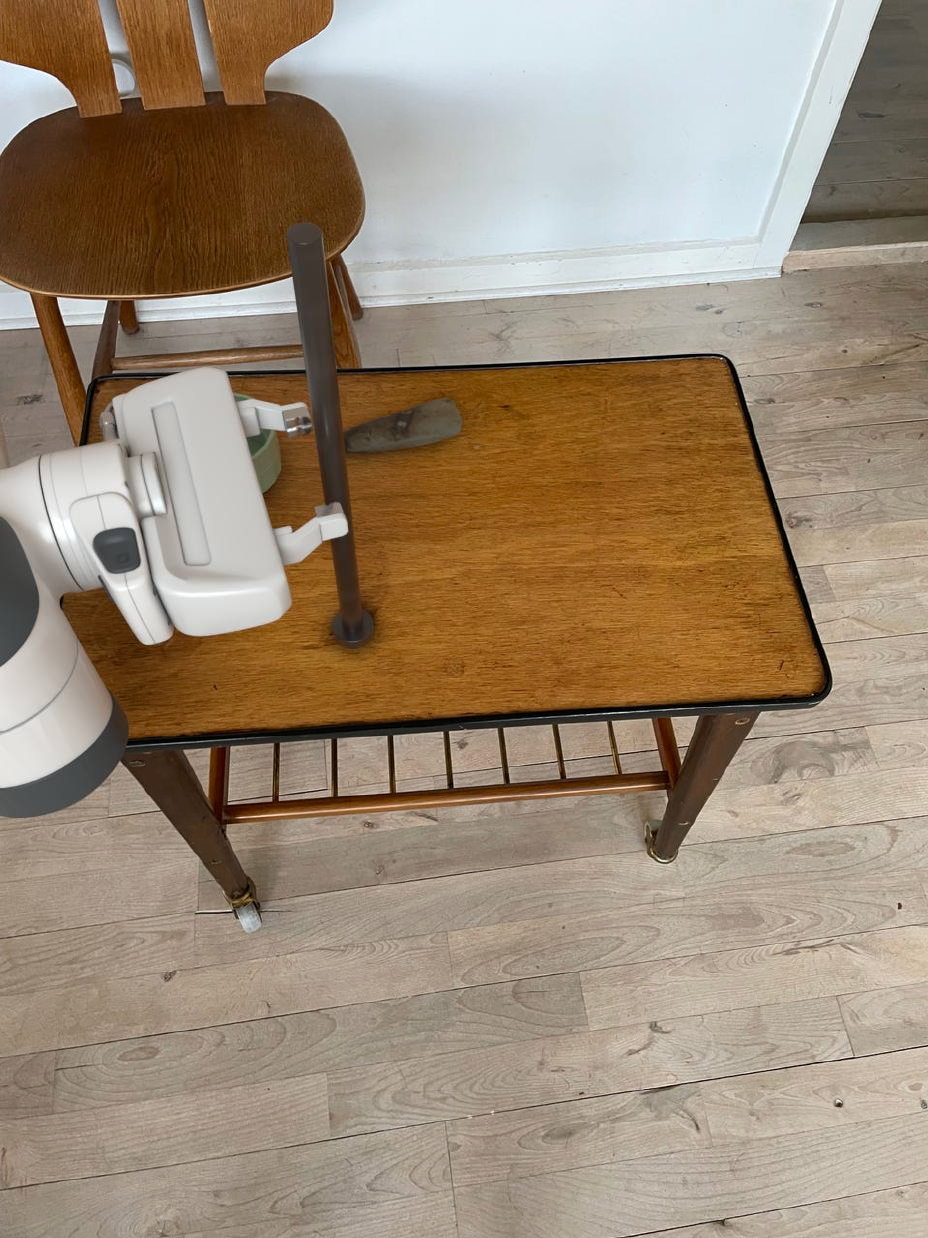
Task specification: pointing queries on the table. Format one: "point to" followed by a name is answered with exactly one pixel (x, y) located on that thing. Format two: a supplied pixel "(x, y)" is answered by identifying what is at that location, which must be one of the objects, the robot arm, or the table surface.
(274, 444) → the bowl
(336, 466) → the stick
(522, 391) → the table surface
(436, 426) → the stone
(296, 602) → the table surface
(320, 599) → the table surface
